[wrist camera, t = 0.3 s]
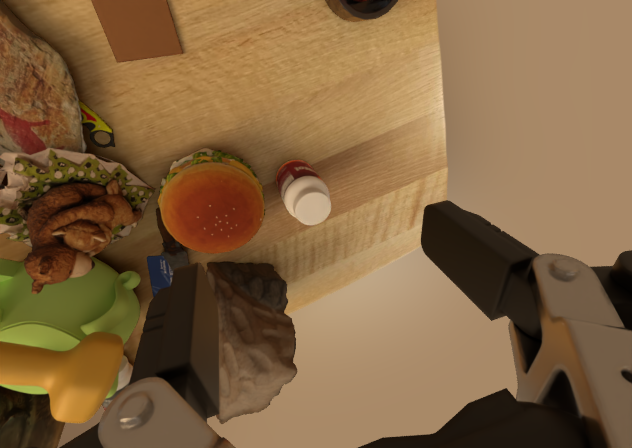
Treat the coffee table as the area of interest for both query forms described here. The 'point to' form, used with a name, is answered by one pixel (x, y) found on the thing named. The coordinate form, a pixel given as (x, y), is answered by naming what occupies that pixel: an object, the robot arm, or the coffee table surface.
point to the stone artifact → (35, 94)
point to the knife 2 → (171, 246)
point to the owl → (251, 336)
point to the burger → (211, 201)
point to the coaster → (138, 28)
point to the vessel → (27, 420)
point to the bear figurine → (67, 210)
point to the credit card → (159, 273)
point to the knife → (95, 124)
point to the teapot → (66, 310)
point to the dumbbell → (66, 373)
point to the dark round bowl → (360, 9)
